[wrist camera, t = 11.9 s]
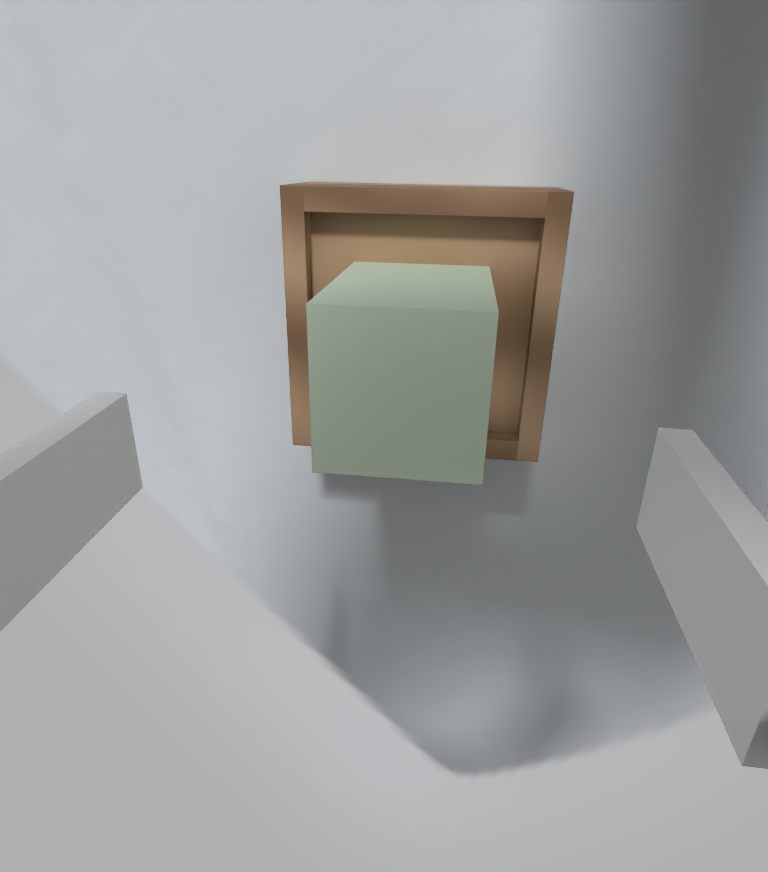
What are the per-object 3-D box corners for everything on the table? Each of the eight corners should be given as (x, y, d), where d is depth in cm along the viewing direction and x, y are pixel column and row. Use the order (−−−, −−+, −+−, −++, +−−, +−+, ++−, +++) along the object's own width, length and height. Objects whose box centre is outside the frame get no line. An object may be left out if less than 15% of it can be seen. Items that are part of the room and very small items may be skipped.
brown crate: (308, 182, 30) (279, 185, 25) (557, 187, 29) (573, 191, 24) (315, 408, 35) (293, 444, 30) (528, 421, 34) (537, 461, 29)
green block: (354, 261, 27) (305, 303, 19) (489, 266, 27) (498, 312, 18) (355, 387, 30) (312, 472, 22) (478, 394, 29) (482, 485, 21)
